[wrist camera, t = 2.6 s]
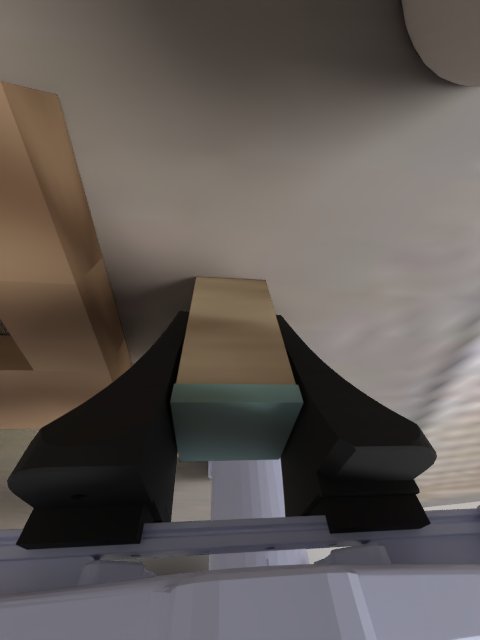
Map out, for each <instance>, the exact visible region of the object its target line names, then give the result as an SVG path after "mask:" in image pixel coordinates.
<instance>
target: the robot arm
mask: <svg viewBox="0 0 480 640" xmlns="http://www.w3.org/2000/svg"><path fill="white" fill-rule="evenodd" d="M189 313H190V312H184V311H180V312H179V313H178V314H177V315H176V317H175V318H174V320H173V321H172V323H171V324H170V325H169V327H168V328H167V329H166V330H165V332H164V333H163V334H162V335H161V337H160V338H159V339H158V340H157V341H156V343H155V344H154V345H153V346H152V347H151V348H150V349H149V350H148V351H147V352H146V353H145V354H144V355H143V356H142V357H141V358H140V359H139V360H138V361H137V362H136V363H135V364H134V365H133V366H132V367H131V368H129V369H128V370H127V371H126V372H125V373H123V374H122V375H121V376H120V377H119V378H117V379H116V380H115V381H114V382H112V383H111V384H110V385H108V386H107V387H106V388H104V389H103V390H101V391H100V392H99V393H97V394H96V395H94V396H93V397H91V398H90V399H88V400H87V401H85V402H84V403H82V404H81V405H79V406H78V407H76V408H74V409H73V410H71V411H69V412H68V413H66V414H64V415H63V416H61V417H59V418H57V419H56V420H54V421H52V422H51V423H49V424H47V425H45V426H43V427H42V428H41V429H40V431H39V432H38V433H37V435H36V436H35V437H34V439H33V440H32V441H31V443H30V444H29V446H28V448H27V449H26V451H25V452H24V454H23V456H22V457H21V459H20V460H19V462H18V464H17V465H16V467H15V469H14V470H13V472H12V473H11V475H10V477H9V478H8V480H7V482H8V487H9V489H10V490H11V491H12V492H13V493H14V494H15V495H17V496H18V497H19V498H21V499H22V500H23V501H25V502H26V503H28V504H29V505H30V506H32V507H33V508H34V509H33V511H32V513H31V515H30V517H29V519H28V521H27V523H26V525H25V527H24V529H8V530H0V640H480V505H479V506H478V507H477V509H457V510H455V509H454V510H432V511H424V509H423V507H422V506H421V504H420V502H419V500H418V498H417V496H416V494H418V493H419V488H418V486H417V484H416V483H415V481H414V478H416V477H417V476H419V475H420V474H421V473H423V472H424V471H425V470H427V469H428V468H429V467H430V466H431V465H433V464H434V462H435V460H436V457H437V455H436V452H435V450H434V449H433V447H432V446H431V444H430V443H429V441H428V440H427V438H426V437H425V435H424V434H423V432H422V431H421V429H420V428H419V426H418V425H417V424H415V423H414V422H412V421H410V420H408V419H406V418H405V417H403V416H401V415H399V414H397V413H396V412H394V411H392V410H390V409H388V408H387V407H385V406H383V405H382V404H380V403H378V402H377V401H375V400H374V399H372V398H370V397H369V396H367V395H366V394H364V393H363V392H361V391H360V390H358V389H357V388H356V387H354V386H353V385H352V384H350V383H349V382H347V381H346V380H345V379H343V378H342V377H341V376H340V375H338V374H337V373H336V372H335V371H334V370H332V369H331V368H330V367H329V366H328V365H326V364H325V363H324V362H323V361H322V360H321V359H320V358H319V357H318V356H317V355H316V354H315V353H314V352H313V351H312V350H311V349H310V348H309V347H308V346H307V345H306V344H305V343H304V342H303V341H302V340H301V338H300V337H299V336H298V335H297V334H296V333H295V332H294V330H293V329H292V328H291V327H290V326H289V324H288V323H287V322H286V321H285V320H284V318H283V317H282V316H281V315H276V318H277V321H278V325H279V328H280V332H281V335H282V339H283V342H284V345H285V349H286V352H287V356H288V359H289V363H290V366H291V370H292V373H293V377H294V380H295V383H296V385H298V386H299V389H300V392H301V396H302V399H303V405H302V408H301V410H300V412H299V415H298V417H297V419H296V422H295V424H294V426H293V429H292V431H291V433H290V436H289V438H288V440H287V443H286V445H285V447H284V450H283V452H282V454H281V457H280V459H279V460H238V461H208V478H210V479H212V493H211V520H209V521H187V522H171V515H172V504H173V493H174V483H175V473H176V463H177V454H178V450H177V443H176V437H175V430H174V424H173V418H172V411H171V405H170V401H171V396H172V391H173V386H174V384H176V381H177V376H178V371H179V366H180V360H181V355H182V350H183V344H184V339H185V334H186V329H187V323H188V318H189ZM346 546H351V547H346ZM330 547H346V548H340V549H335V550H332V551H331V553H330V555H329V556H328V557H326V558H324V559H322V560H319V561H317V562H314V564H309V560H308V555H307V550H306V549H311V548H330ZM193 555H209V571H200V572H191V573H182V574H173V575H166V576H157V577H156V575H155V573H152V572H149V571H146V570H145V569H144V568H145V566H144V564H143V563H142V562H127V561H110V560H124V559H140V558H158V557H175V556H193Z"/></svg>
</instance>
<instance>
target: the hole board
mask: <svg viewBox="0 0 480 640" xmlns="http://www.w3.org/2000/svg"><path fill="white" fill-rule="evenodd" d="M0 320H1V321H2V323H3V324H4V326H5V327H6V329H7V330H8V332H9V333H10V335H0V429H41V428H42V427H43V426H45V425H47V424H49V423H51V422H52V421H54V420H56V419H57V418H59V417H61V416H63V415H64V414H66V413H68V412H69V411H71V410H73V409H74V408H76V407H78V406H79V405H81V404H82V403H84V402H85V401H87V400H88V399H90V398H91V397H93V396H94V395H96V394H97V393H99V392H100V391H101V390H103V389H104V388H106V387H107V386H108V385H110V384H111V383H112V382H114V381H115V380H116V379H117V378H119V377H120V376H121V375H122V374H123V373H125V372H126V371H127V370H128V369H129V368H131V367H132V362H131V359H130V355H129V352H128V348H127V344H126V341H125V337H124V334H123V330H122V326H121V323H120V319H119V315H118V312H117V308H116V305H115V301H114V297H113V294H112V290H111V286H110V283H109V279H108V276H107V272H106V268H105V265H104V261H103V257H102V254H101V250H100V247H99V243H98V239H97V236H96V232H95V228H94V225H93V221H92V218H91V214H90V210H89V207H88V203H87V199H86V196H85V192H84V189H83V185H82V181H81V178H80V174H79V171H78V167H77V163H76V160H75V156H74V152H73V149H72V145H71V142H70V138H69V134H68V131H67V127H66V123H65V120H64V116H63V113H62V109H61V105H60V102H59V98H58V95H55V94H51V93H46V92H42V91H38V90H34V89H30V88H25V87H21V86H17V85H13V84H8V83H4V82H0Z"/></svg>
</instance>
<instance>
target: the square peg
mask: <svg viewBox="0 0 480 640" xmlns="http://www.w3.org/2000/svg"><path fill="white" fill-rule="evenodd" d="M170 405H171V411H172V418H173V424H174V430H175V437H176V443H177V450H178V456H179V462H191V461H238V460H279V459H280V457H281V454H282V452H283V450H284V447H285V445H286V443H287V440H288V438H289V436H290V433H291V431H292V429H293V426H294V424H295V422H296V419H297V417H298V415H299V412H300V410H301V408H302V405H303V399H302V396H301V392H300V389H299V386H298V385H296V383H295V380H294V377H293V373H292V370H291V366H290V363H289V359H288V356H287V352H286V349H285V345H284V342H283V339H282V335H281V332H280V328H279V325H278V321H277V318H276V314H275V311H274V307H273V304H272V300H271V297H270V294H269V290H268V287H267V283H266V280H248V279H229V278H210V277H196V281H195V287H194V292H193V297H192V302H191V308H190V313H189V318H188V323H187V329H186V334H185V339H184V344H183V350H182V355H181V360H180V366H179V371H178V376H177V381H176V384H174V386H173V391H172V396H171V401H170Z"/></svg>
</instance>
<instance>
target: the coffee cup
mask: <svg viewBox="0 0 480 640" xmlns="http://www.w3.org/2000/svg"><path fill="white" fill-rule="evenodd" d="M402 6H403V12H404V18H405V24H406V27H407V30H408V34H409V36H410V38H411V41H412V43H413V46H414V48H415V49H416V51H417V53H418V54H419V56H420V57H421V59H422V60H423V62H424V64H425V65H426V66H428V67H429V68H430V69H431V70H432V71H433V72H434V73H436V74H437V75H438V76H439V77H441V78H443V79H445V80H448V81H450V82H453V83H456V84H459V85H465V86H480V0H402Z"/></svg>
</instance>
